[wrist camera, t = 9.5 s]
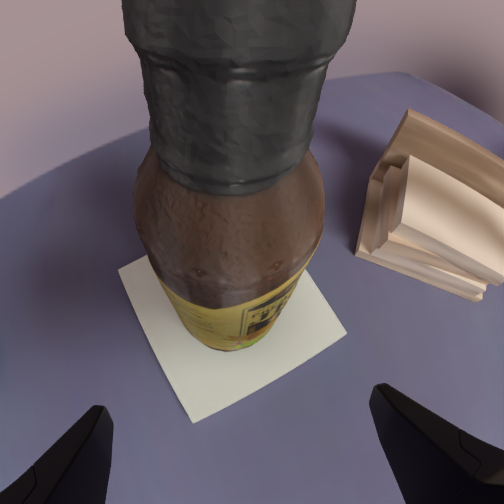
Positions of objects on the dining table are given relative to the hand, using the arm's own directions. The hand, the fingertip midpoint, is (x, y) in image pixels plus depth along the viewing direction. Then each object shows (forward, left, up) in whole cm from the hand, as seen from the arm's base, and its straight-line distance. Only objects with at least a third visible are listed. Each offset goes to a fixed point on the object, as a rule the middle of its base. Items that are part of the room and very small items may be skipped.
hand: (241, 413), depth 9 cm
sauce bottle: (+3, +6, -11) cm, 12 cm away
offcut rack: (+21, +2, -11) cm, 24 cm away
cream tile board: (+3, +6, -11) cm, 13 cm away
